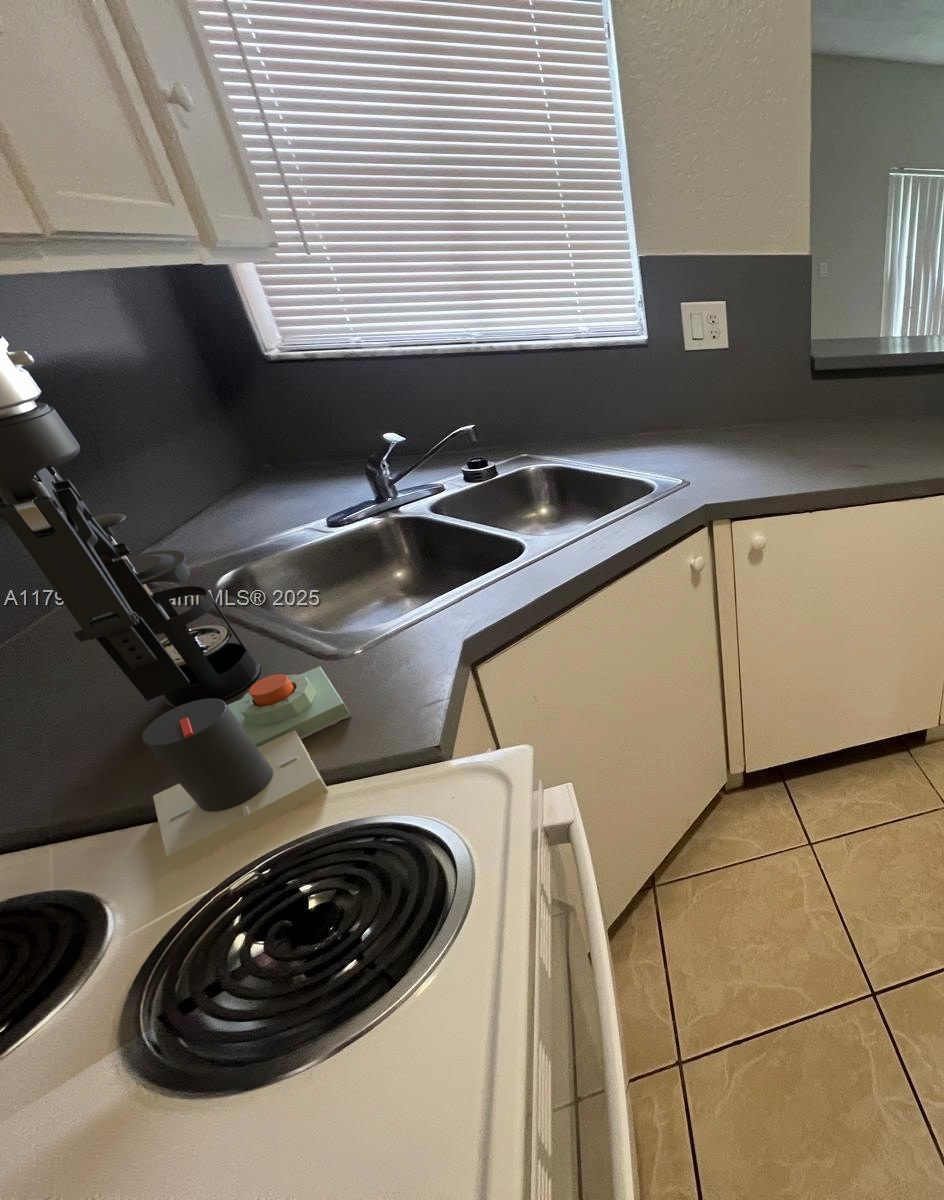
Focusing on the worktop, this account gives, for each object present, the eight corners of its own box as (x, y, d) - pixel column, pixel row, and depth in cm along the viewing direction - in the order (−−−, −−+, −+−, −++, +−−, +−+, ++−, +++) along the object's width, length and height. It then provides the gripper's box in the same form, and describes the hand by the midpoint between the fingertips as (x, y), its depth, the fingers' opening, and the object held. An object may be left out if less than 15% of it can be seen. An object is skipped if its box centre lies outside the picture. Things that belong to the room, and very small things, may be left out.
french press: (272, 683, 78) (164, 517, 66) (177, 725, 73) (38, 552, 60) (247, 647, 85) (144, 490, 72) (158, 683, 79) (28, 519, 66)
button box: (230, 721, 73) (211, 695, 71) (327, 679, 79) (313, 654, 77) (248, 766, 67) (228, 739, 65) (351, 716, 73) (336, 691, 71)
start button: (253, 696, 71) (245, 685, 70) (290, 681, 73) (283, 669, 72) (260, 711, 69) (252, 699, 68) (298, 695, 71) (291, 683, 70)
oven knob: (193, 788, 62) (136, 720, 57) (266, 754, 66) (218, 687, 61) (203, 822, 59) (143, 753, 53) (279, 784, 62) (229, 716, 57)
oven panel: (164, 808, 63) (151, 793, 62) (303, 742, 70) (293, 728, 69) (178, 871, 57) (164, 856, 56) (329, 791, 64) (319, 777, 63)
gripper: (53, 435, 38) (239, 698, 50) (44, 374, 52) (189, 588, 64) (-143, 473, 33) (112, 751, 45) (-93, 394, 48) (90, 620, 60)
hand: (158, 656), depth 55 cm, fingers open, 13 cm apart
